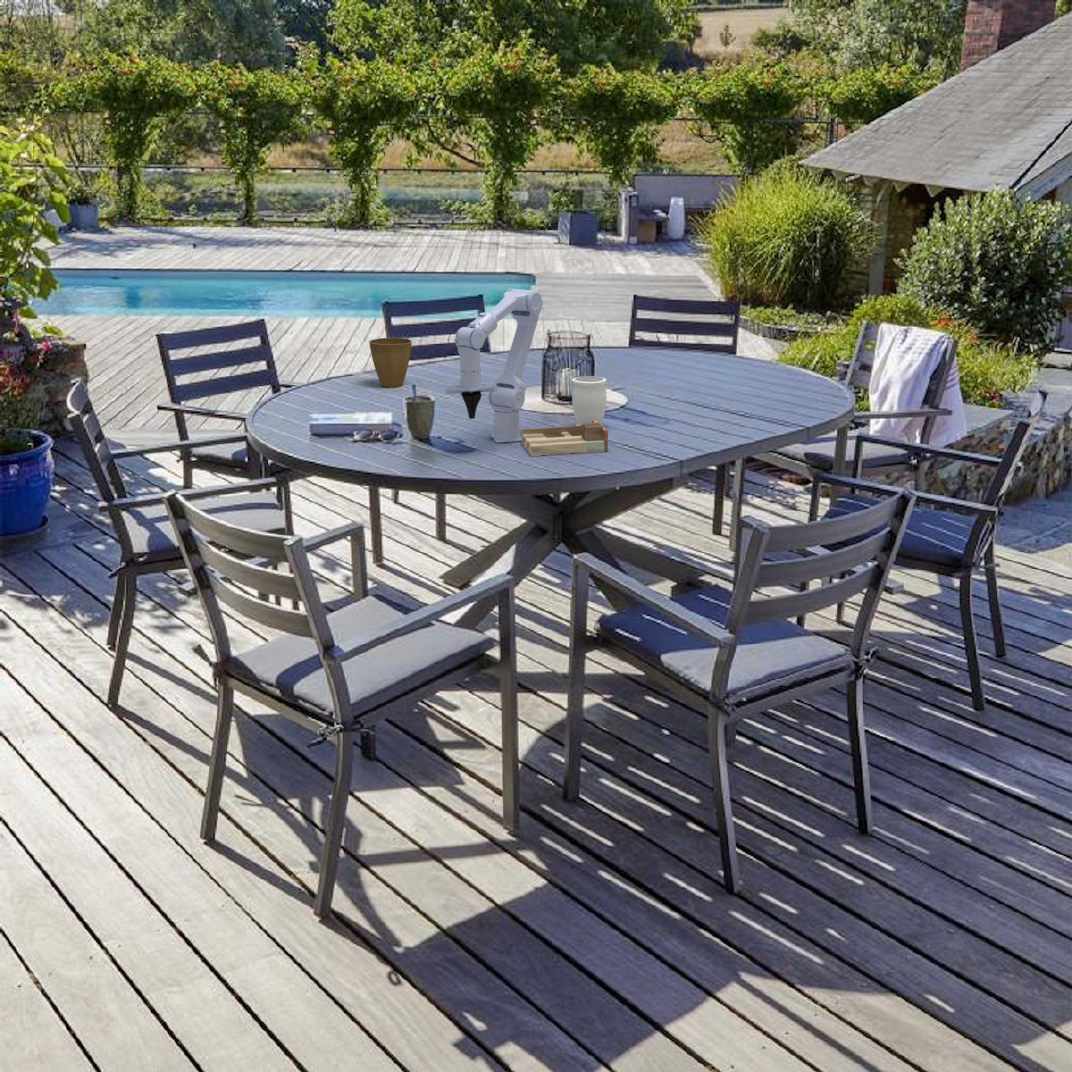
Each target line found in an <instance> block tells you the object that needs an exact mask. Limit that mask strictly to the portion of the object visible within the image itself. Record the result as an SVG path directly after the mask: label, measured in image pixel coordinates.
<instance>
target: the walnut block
mask: <svg viewBox="0 0 1072 1072" xmlns="http://www.w3.org/2000/svg"><path fill="white" fill-rule="evenodd" d="M602 425H603V424H602ZM602 425H601V424H600V423H599V422H597V423H582V438H583V439H584V440H585V441H597V440H603V427H604V426H602Z"/></svg>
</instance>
